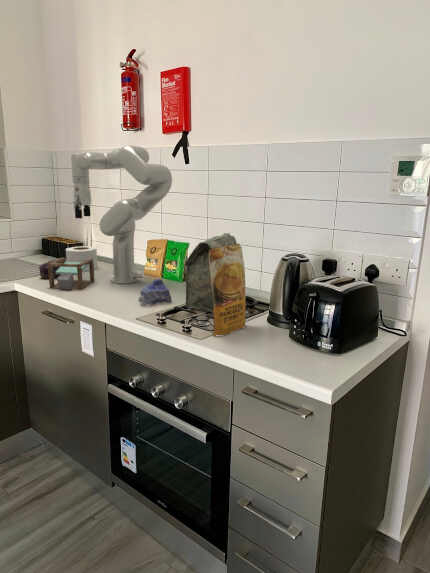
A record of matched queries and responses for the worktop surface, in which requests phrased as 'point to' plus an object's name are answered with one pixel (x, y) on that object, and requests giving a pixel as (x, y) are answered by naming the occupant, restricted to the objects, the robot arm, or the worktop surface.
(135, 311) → the worktop surface
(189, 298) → the bag
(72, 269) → the trapdoor
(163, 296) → the mineral
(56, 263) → the frame
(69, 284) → the gray cube
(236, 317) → the pancake mix bag
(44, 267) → the rock
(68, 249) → the toilet paper roll
